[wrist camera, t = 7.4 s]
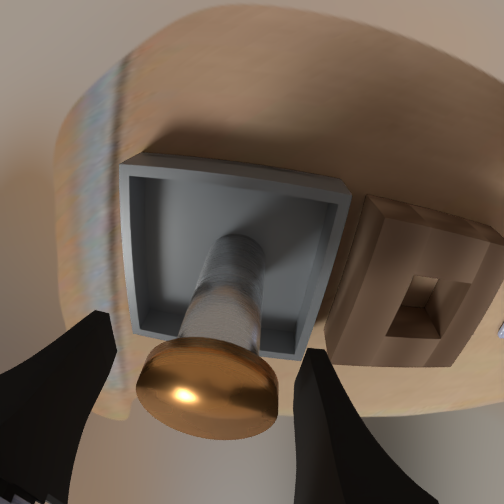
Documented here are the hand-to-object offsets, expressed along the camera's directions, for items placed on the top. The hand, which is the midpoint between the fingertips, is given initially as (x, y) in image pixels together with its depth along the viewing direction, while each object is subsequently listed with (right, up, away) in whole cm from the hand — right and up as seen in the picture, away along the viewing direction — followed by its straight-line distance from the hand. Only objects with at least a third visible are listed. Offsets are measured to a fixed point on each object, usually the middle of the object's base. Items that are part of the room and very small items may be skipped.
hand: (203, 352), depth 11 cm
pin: (+1, +3, +6) cm, 7 cm away
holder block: (+11, +2, +6) cm, 13 cm away
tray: (0, +4, +6) cm, 7 cm away
